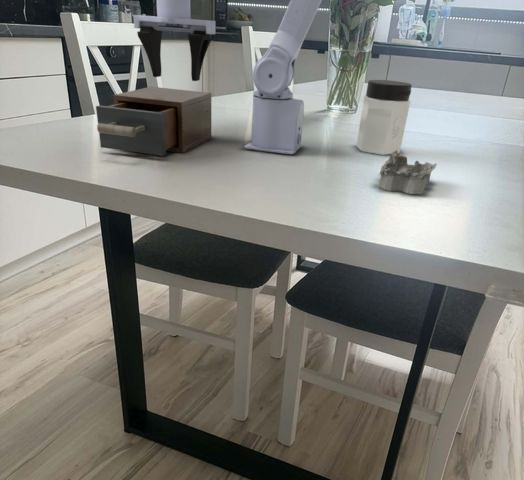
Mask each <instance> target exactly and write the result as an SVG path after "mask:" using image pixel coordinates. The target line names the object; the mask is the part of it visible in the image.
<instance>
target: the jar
mask: <svg viewBox="0 0 524 480" xmlns="http://www.w3.org/2000/svg"><path fill="white" fill-rule="evenodd" d="M412 87H413V86H412V84H411V83H409V82H405V81H397V80H386V79H370V80H368V81H367V86H366V93H365V95H364V96H363V102H362V107H361V113H360V119H359V120H360V121H359V125H358V132H357V139H356V147H357V148H358V149H359V150H360V151H361V152H362V153H369V154H375V155H380V156H385V155H391V154H392V153H393V151H396V150H397V154H400V152H401V147H402V143H403V137H404V133H405V129H406V125H407V120H408V115H409V109H410V107H411V106H410V105H411V100H410V97H411V93H412Z"/></svg>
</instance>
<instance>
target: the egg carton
mask: <svg viewBox="0 0 524 480" xmlns="http://www.w3.org/2000/svg"><path fill="white" fill-rule="evenodd" d="M436 167H437V163H430V162H427V161H425V163H421V162H420V161H419V160H415V162H414V164H408V157H407V156H405V155H402V154H399V153H397V150H396V151H393V153H392V154H389V158H388V159H387V160H386V161H385V163H384V164H383V165H382V166H381V168H380V172H379V174H378V175H380V180H379V183H378V188H380V189H382V190H385V191H388V192H393V191H396V192H397V191H398V192H403V193H406V194H409V195H423V194H424V190H426V188H427V185H428V184H429V183H430V179H431V174H432V171H434V170H435V169H436Z"/></svg>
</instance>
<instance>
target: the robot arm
mask: <svg viewBox="0 0 524 480" xmlns="http://www.w3.org/2000/svg"><path fill="white" fill-rule="evenodd" d="M155 1H156V14H157V15H156V16H155V15H144V14H143V15H142V14H133V15H132V17H133V28H134V29H139V31H137V32H136V34H137V37H138V39H139V41H140V42H141V45H142V47H143V49H144V51H145V54H146V56H147V59H148V62H149V66H150V69H151V73H152V77H153V78H159V77H162V57H161V51H162V50H161V49H162V37H163V31H170V32H180V33H181V32H182V33H188V34H187V38H188V42H189V43H188V44H189V50H190V65H191V66H190V67H191V69H190V71H191V72H190V75H191V81H192V82H197V81H200V79H201V72H202V67H203V64H204V60H205V57H206V54H207V51H208V49H209V46H210V44H211V42H212V36H211V35H216V20H209V19H208V20H207V19H195V18H191V16H192V15H191V14H192V12H191V0H155ZM322 2H323V0H290V1H289V3H288V5H287V8H286V11H285V13H284V15H283V18H282V19H281V22H280V24H279V27H278V29H277V31H276V33H275V35H274V36H273V38H272V39H271V42H270V44H269V45H268V49H267V50H266V52H265V53H264V54H263V55H262V56H261V57H260V58H259V59H258V60H257V61H256V63H255V65H254V66H253V70H252V80H253V84H254V86H255V88H256V90H254V91H253V92H252V95H253V96H252V113H251V138H250V142H248V143H247V144H245V145H244V146H243V147H244V149H245V150H251V151H252V150H253V151H260V152H267V153H268V152H269V153H277V154H284V155H295V154H296V152H298V150H300V148H301V147H302V135H303V125H304V117H305V116H304V115H305V103H304V100H302V99H297V98H293V96H294V93H293V92H292V91H291V89H290V88H289V86H291V83H292V82H293V80H294V77H295V66H296V65H295V64H296V61H297V59H298V57H299V54H300V51H301V48H302V45H303V43H304V40H305V39H306V36H307V35H308V32H309V30H310V28H311V25H312V23H313V21H314V19H315V16H316V14H317V12H318V10H319V8H320V6H321V3H322ZM167 24H169V25H170V24H171V25H182V27H172V26H171V27H170V26H166V25H167Z"/></svg>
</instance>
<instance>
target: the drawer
mask: <svg viewBox="0 0 524 480" xmlns="http://www.w3.org/2000/svg"><path fill="white" fill-rule="evenodd" d="M95 111H96V118H97V119H96V120H97V126H96V129H97V132H98V135H99V144H100V147H101V148H102V149H110V150H116V151H117V150H118V151H125V152H131V153H133V152H134V153H139V154H148V155H156V156H161V157H163V156H165V155H166V154H167V151H166V150H167V149H169V148H171V147H173V146H175V145H177V144H179V138H178V111H177V107H172V106H163V105H154V104H145V103H136V102H128V101H126V102H122V103H118V104H111V105H100V104H99V105H96V106H95Z"/></svg>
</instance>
